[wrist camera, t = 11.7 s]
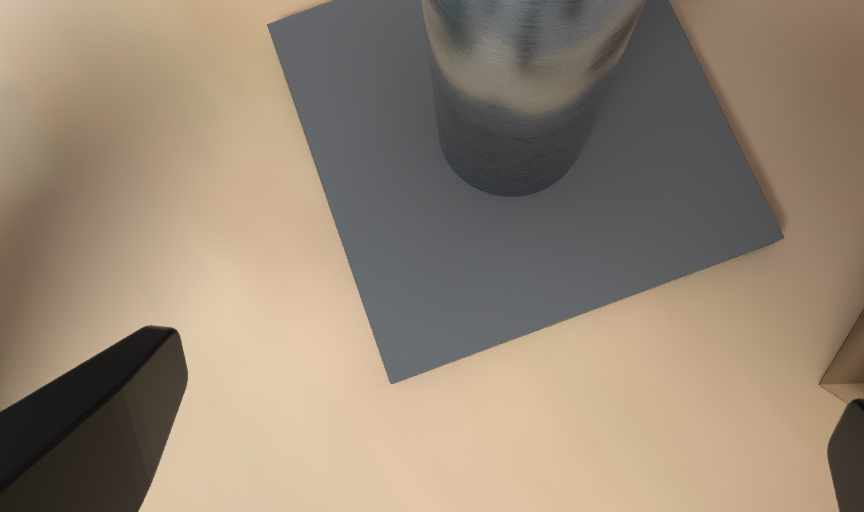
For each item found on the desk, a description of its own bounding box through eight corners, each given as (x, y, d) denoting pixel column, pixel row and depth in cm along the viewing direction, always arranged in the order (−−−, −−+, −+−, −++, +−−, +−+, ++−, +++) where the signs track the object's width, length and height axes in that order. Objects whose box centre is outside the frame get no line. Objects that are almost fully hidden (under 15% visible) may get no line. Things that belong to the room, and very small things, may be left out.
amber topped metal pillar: (520, 226, 20) (601, -58, 8) (408, 135, 21) (312, -259, 8) (614, 117, 21) (833, -318, 8) (501, 33, 22) (542, -485, 9)
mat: (392, 384, 20) (390, 383, 20) (272, 34, 23) (266, 24, 22) (775, 242, 20) (784, 237, 20) (614, -90, 23) (618, -102, 22)
